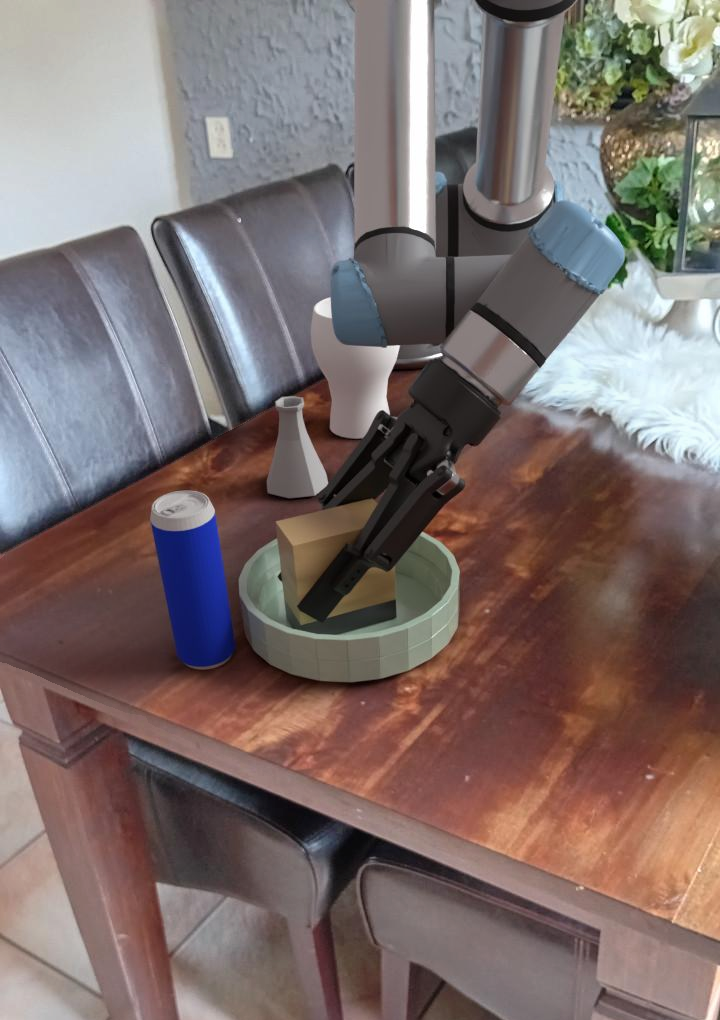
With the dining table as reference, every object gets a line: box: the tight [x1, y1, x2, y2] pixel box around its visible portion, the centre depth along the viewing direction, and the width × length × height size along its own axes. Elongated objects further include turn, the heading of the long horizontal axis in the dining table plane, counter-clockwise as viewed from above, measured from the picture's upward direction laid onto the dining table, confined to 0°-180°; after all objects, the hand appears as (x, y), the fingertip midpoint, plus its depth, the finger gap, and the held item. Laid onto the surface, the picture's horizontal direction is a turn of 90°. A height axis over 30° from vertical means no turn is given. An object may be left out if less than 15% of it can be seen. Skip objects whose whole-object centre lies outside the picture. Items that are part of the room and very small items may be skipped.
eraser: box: [274, 499, 397, 635], centre depth 88 cm, size 9×4×10 cm, turn 112°
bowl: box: [238, 531, 461, 683], centre depth 90 cm, size 19×19×5 cm
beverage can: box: [149, 490, 237, 671], centre depth 84 cm, size 5×5×15 cm
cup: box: [310, 296, 400, 440], centre depth 121 cm, size 11×11×15 cm
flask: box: [266, 395, 329, 499], centre depth 110 cm, size 7×7×10 cm
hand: (299, 599), depth 88 cm, fingers closed on eraser, 4 cm apart
